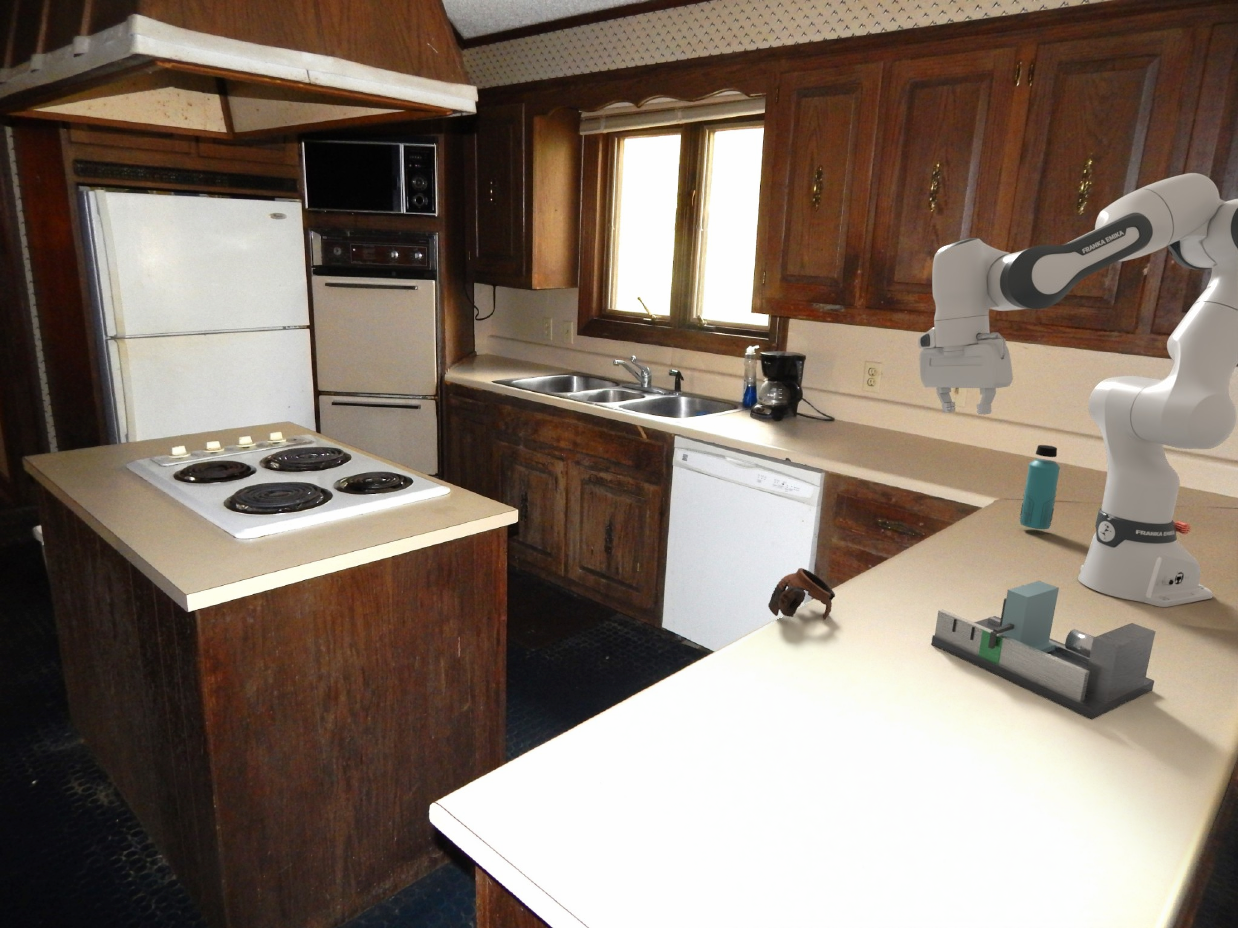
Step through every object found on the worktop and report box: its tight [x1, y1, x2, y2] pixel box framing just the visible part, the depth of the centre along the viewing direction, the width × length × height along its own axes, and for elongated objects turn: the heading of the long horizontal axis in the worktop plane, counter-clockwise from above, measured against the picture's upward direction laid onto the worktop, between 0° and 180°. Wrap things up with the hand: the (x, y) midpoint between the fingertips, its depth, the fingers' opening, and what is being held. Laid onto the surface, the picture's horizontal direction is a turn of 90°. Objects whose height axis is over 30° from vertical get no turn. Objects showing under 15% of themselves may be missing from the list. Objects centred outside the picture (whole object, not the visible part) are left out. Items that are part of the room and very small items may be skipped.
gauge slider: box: [988, 580, 1060, 653], centre depth 116 cm, size 5×13×9 cm, turn 123°
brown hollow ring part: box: [767, 567, 836, 621], centre depth 130 cm, size 12×10×8 cm
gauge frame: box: [931, 609, 1156, 721], centre depth 116 cm, size 24×16×10 cm, turn 33°
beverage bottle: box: [1019, 444, 1061, 530], centre depth 181 cm, size 6×7×20 cm
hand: (966, 413), depth 143 cm, fingers open, 8 cm apart
